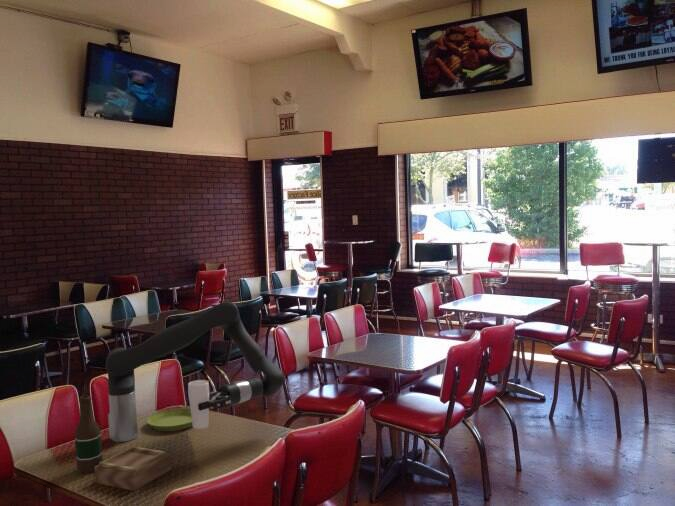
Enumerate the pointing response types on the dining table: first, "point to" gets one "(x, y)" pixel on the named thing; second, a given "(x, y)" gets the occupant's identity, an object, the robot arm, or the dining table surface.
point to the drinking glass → (197, 395)
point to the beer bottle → (87, 438)
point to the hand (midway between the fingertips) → (193, 405)
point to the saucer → (171, 420)
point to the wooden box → (132, 468)
